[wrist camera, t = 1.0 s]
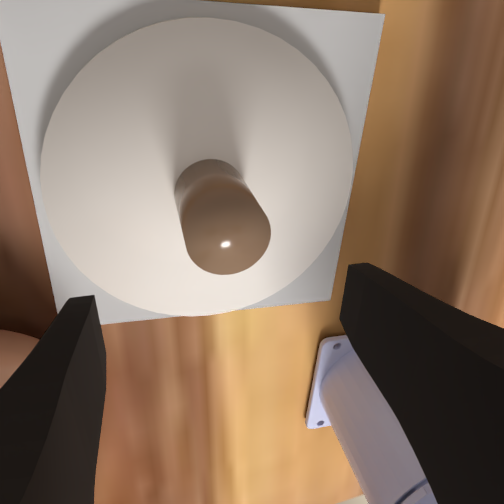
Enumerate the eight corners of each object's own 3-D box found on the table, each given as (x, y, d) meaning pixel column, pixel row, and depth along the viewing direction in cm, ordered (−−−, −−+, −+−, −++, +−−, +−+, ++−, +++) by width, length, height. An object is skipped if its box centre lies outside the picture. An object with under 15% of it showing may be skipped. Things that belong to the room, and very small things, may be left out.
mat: (378, 13, 17) (385, 14, 17) (326, 295, 24) (330, 300, 24) (-8, -15, 14) (-12, -16, 13) (62, 322, 21) (60, 328, 20)
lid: (370, 27, 17) (446, 36, 13) (323, 293, 23) (363, 354, 19) (9, 4, 14) (-38, 6, 10) (70, 319, 20) (56, 398, 16)
